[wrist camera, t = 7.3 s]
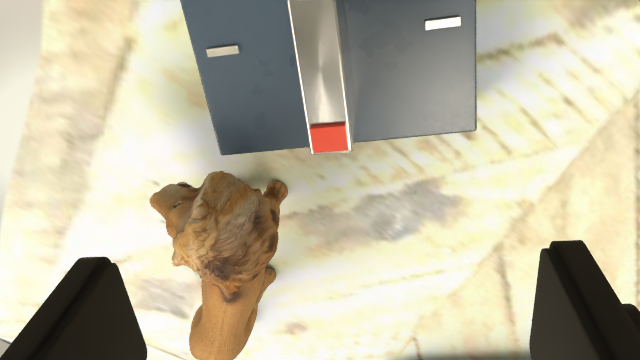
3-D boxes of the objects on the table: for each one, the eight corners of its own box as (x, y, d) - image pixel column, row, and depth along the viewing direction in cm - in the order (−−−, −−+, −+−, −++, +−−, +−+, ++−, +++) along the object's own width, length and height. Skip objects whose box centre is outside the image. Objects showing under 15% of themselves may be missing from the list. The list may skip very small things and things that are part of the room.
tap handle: (298, -44, 21) (280, -26, 16) (339, -49, 20) (331, -33, 16) (320, 111, 24) (310, 158, 19) (356, 108, 23) (353, 154, 19)
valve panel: (463, -132, 21) (476, -135, 18) (466, 113, 26) (477, 140, 23) (182, -85, 23) (156, -81, 20) (236, 137, 28) (221, 164, 25)
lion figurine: (192, 117, 28) (122, 207, 20) (293, 124, 27) (262, 219, 20) (209, 322, 35) (162, 448, 27) (288, 330, 35) (264, 459, 27)
